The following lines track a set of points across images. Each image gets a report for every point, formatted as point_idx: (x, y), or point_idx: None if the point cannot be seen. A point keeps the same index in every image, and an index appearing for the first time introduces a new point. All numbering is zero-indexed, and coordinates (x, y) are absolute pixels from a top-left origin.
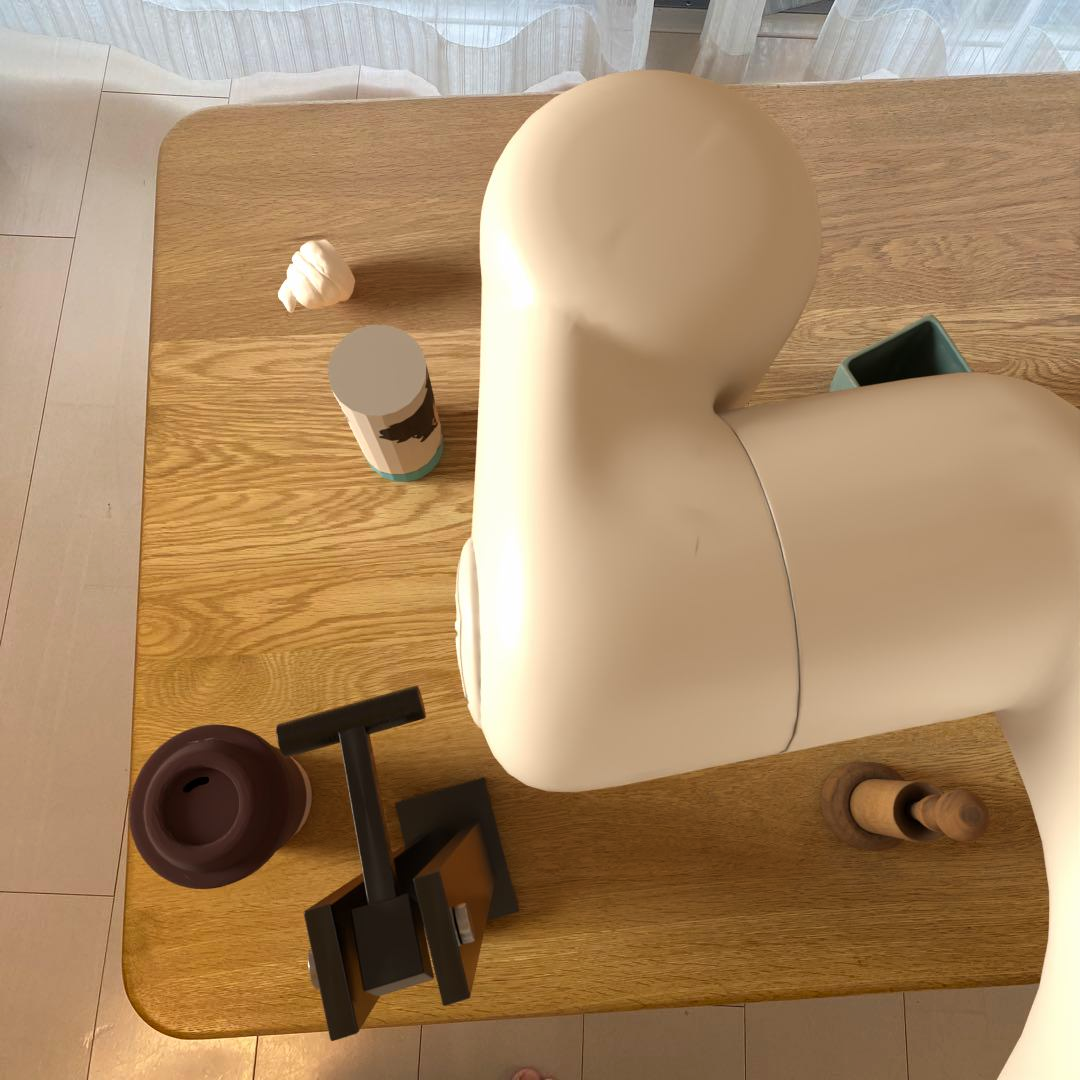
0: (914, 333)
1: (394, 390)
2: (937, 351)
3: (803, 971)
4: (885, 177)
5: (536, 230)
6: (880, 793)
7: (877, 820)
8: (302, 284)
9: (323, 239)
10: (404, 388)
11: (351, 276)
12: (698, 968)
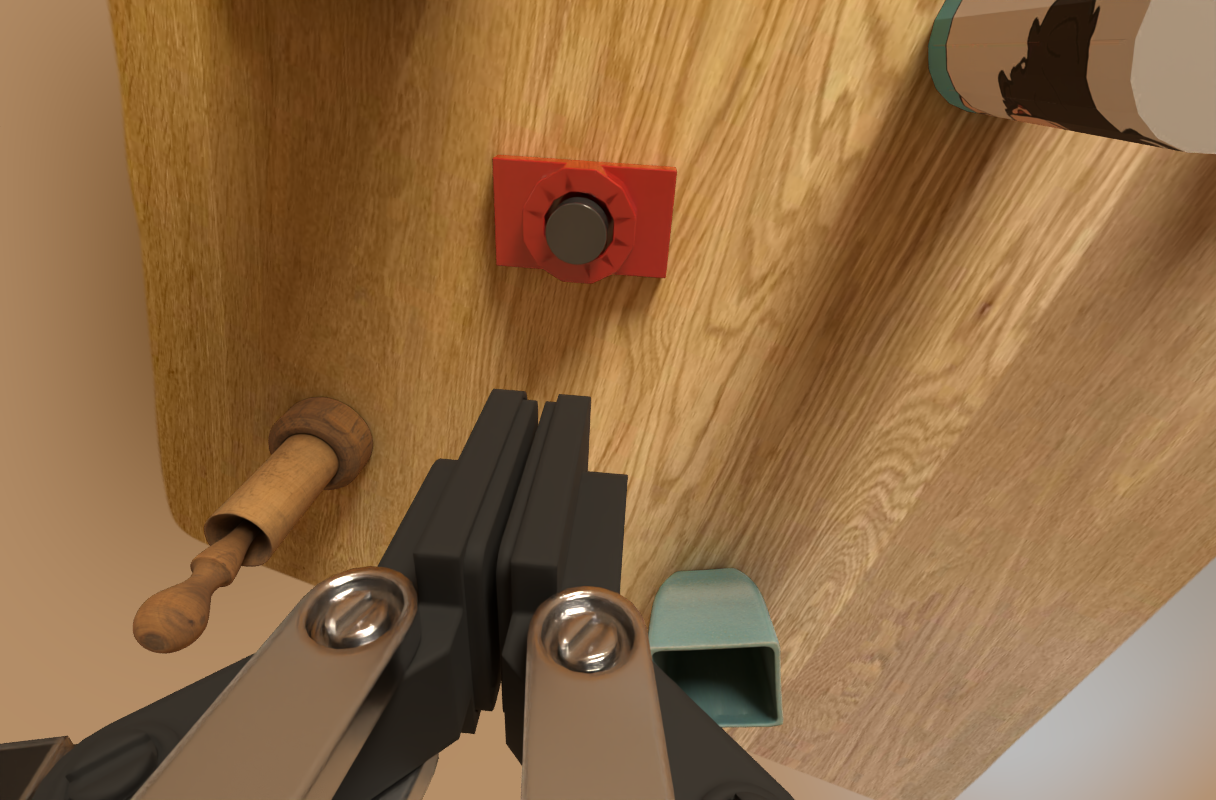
0: (772, 695)
1: (1186, 51)
2: (742, 701)
3: (160, 316)
4: (947, 690)
5: None
6: (286, 493)
7: (260, 477)
8: None
9: None
10: (1173, 79)
11: None
12: (160, 203)
